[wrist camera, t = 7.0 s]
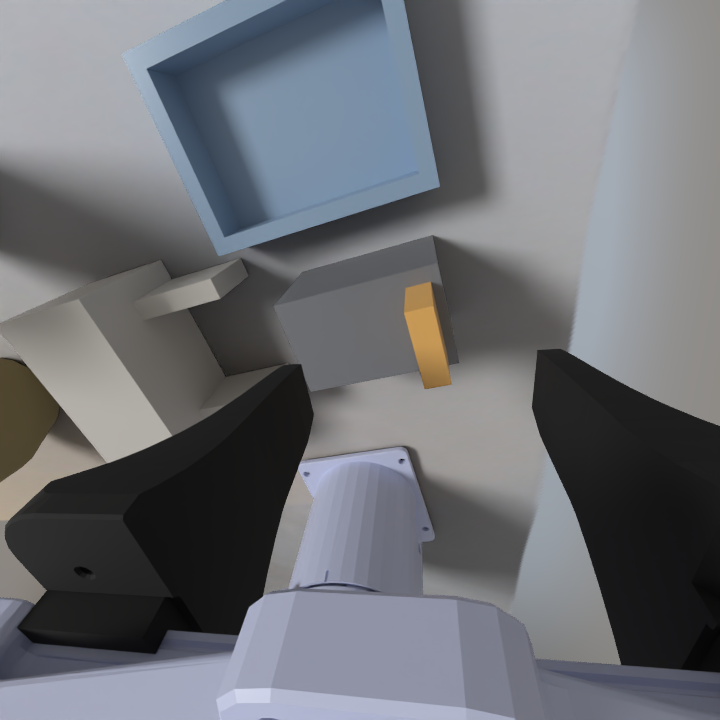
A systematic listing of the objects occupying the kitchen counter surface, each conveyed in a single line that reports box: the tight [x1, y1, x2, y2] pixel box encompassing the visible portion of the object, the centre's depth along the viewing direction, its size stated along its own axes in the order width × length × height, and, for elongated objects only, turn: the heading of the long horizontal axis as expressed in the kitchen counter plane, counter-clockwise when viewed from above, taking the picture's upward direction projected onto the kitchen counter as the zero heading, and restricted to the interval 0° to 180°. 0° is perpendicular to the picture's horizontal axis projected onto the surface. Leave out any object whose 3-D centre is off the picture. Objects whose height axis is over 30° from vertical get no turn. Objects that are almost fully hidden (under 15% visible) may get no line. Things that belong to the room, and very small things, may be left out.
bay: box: [0, 258, 289, 463], centre depth 21 cm, size 10×10×6 cm
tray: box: [122, 0, 440, 256], centre depth 16 cm, size 8×10×2 cm
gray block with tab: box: [273, 235, 459, 392], centre depth 17 cm, size 7×4×8 cm, turn 107°
